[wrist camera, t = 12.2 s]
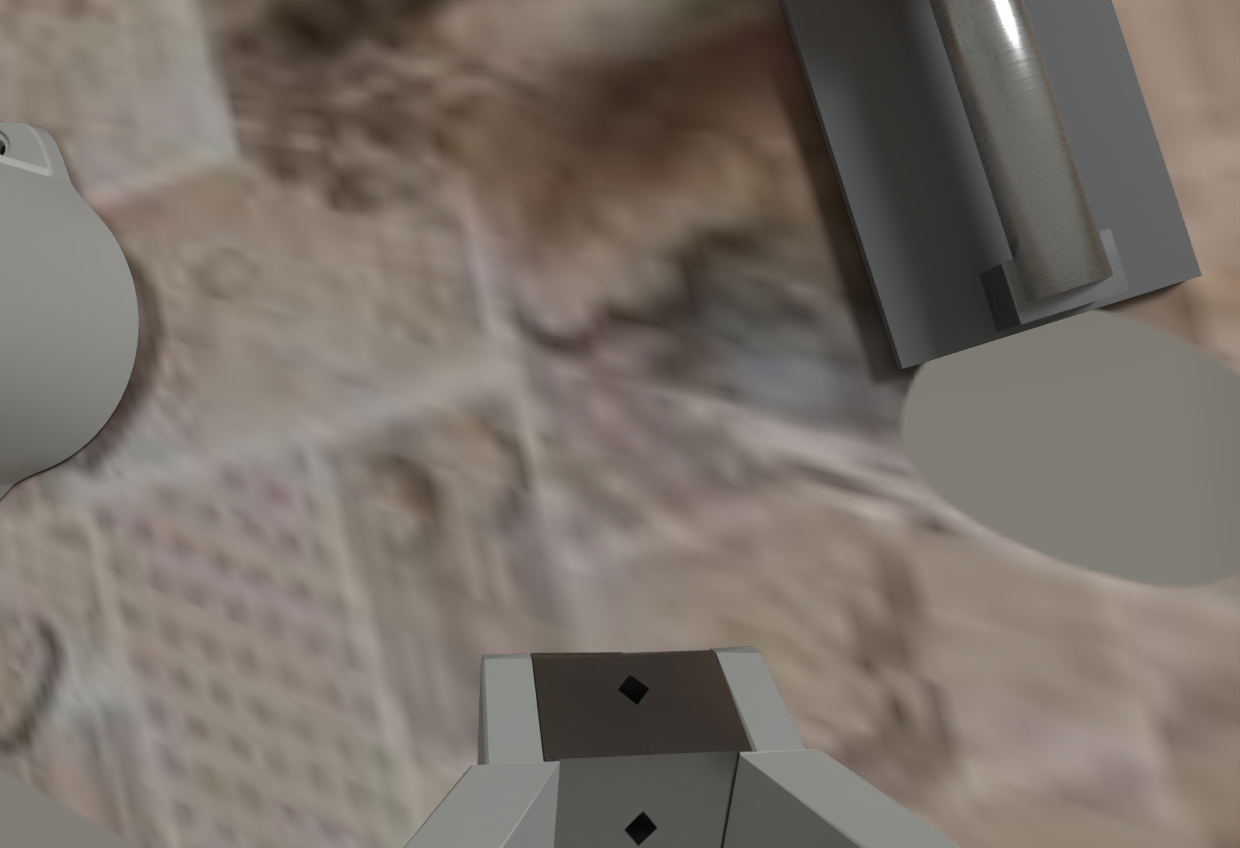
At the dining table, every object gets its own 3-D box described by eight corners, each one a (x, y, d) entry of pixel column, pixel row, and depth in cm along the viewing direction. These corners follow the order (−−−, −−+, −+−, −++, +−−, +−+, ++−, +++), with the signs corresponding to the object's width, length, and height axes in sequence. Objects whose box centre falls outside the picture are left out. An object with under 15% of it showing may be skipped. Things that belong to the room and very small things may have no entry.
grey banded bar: (1097, 300, 39) (1149, 284, 34) (997, 331, 39) (1034, 320, 34) (917, -251, 39) (943, -346, 34) (821, -213, 40) (833, -301, 35)
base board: (1187, 279, 39) (1202, 275, 38) (897, 370, 41) (903, 368, 39) (1005, -276, 40) (1014, -299, 38) (725, -166, 41) (725, -185, 40)
